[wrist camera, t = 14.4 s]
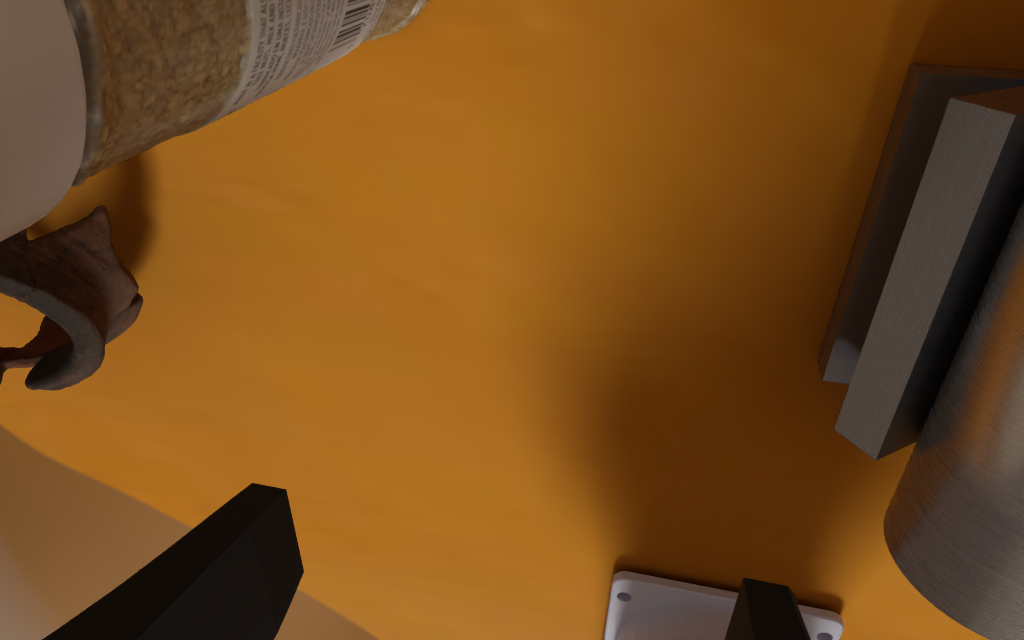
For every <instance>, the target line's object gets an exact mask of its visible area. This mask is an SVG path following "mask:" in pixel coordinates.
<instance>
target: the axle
mask: <svg viewBox="0 0 1024 640" xmlns="http://www.w3.org/2000/svg"><path fill="white" fill-rule="evenodd" d="M884 536H885V541H886V543H887V546H888V549H889V552H890V553H891V555H892V557H893V559H894V561H895V563H896V564H897V566H898V567H899V569H900V570H901V572H902V573H903V574H904V576H905V577H906V578H907V579H908V581H909V582H910V583H911V584H912V585H913V586H914V587H915V588H916V589H917V590H918V591H919V592H920V593H921V594H922V595H923V596H924V597H925V598H926V599H927V600H928V601H930V602H931V603H932V604H933V605H934V606H935V607H937V608H938V609H939V610H941V611H942V612H943V613H945V614H946V615H947V616H949V617H950V618H952V619H953V620H955V621H956V622H958V623H960V624H961V625H963V626H964V627H966V628H968V629H970V630H972V631H973V632H975V633H977V634H979V635H981V636H983V637H985V638H987V639H990V640H1024V199H1023V201H1022V204H1021V206H1020V208H1019V210H1018V213H1017V215H1016V217H1015V219H1014V222H1013V224H1012V226H1011V229H1010V231H1009V233H1008V235H1007V238H1006V240H1005V242H1004V244H1003V247H1002V249H1001V251H1000V254H999V256H998V258H997V260H996V263H995V265H994V267H993V269H992V272H991V274H990V276H989V279H988V281H987V283H986V285H985V288H984V290H983V292H982V294H981V297H980V299H979V301H978V304H977V306H976V308H975V310H974V313H973V315H972V317H971V320H970V322H969V324H968V326H967V329H966V331H965V333H964V335H963V338H962V340H961V342H960V345H959V347H958V349H957V351H956V354H955V356H954V358H953V360H952V363H951V365H950V367H949V370H948V372H947V374H946V376H945V379H944V381H943V383H942V385H941V388H940V390H939V392H938V395H937V397H936V399H935V401H934V404H933V406H932V408H931V410H930V413H929V415H928V417H927V420H926V422H925V424H924V426H923V429H922V431H921V433H920V436H919V438H918V440H917V442H916V445H915V447H914V449H913V451H912V454H911V456H910V458H909V461H908V463H907V465H906V467H905V470H904V472H903V474H902V476H901V479H900V481H899V483H898V486H897V488H896V490H895V492H894V495H893V497H892V499H891V501H890V504H889V506H888V508H887V511H886V513H885V517H884Z"/></svg>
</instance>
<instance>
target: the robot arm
mask: <svg viewBox="0 0 1024 640" xmlns="http://www.w3.org/2000/svg"><path fill="white" fill-rule="evenodd" d="M303 573H304V570H303V565H302V560H301V556H300V551H299V546H298V542H297V537H296V533H295V528H294V523H293V519H292V514H291V509H290V505H289V500H288V496H287V491H286V489H281V488H276V487H270V486H265V485H260V484H255V483H252V484H250V485H249V486H248V487H246V488H245V489H244V490H242V491H241V492H240V493H239V494H237V495H236V496H235V497H233V498H232V499H231V500H229V501H228V502H227V503H226V504H224V505H223V506H222V507H220V508H219V509H218V510H217V511H215V512H214V513H213V514H212V515H210V516H209V517H208V518H206V519H205V520H204V521H203V522H201V523H200V524H199V525H198V526H196V527H195V528H194V529H192V530H191V531H190V532H189V533H187V534H186V535H185V536H184V537H182V538H181V539H180V540H178V541H177V542H176V543H175V544H173V545H172V546H171V547H170V548H168V549H167V550H166V551H164V552H163V553H162V554H160V555H159V556H158V557H156V558H155V559H154V560H152V561H151V562H150V563H148V564H147V565H146V566H144V567H143V568H142V569H140V570H139V571H138V572H137V573H135V574H134V575H133V576H131V577H130V578H129V579H127V580H126V581H125V582H123V583H122V584H121V585H119V586H118V587H117V588H115V589H114V590H112V591H111V592H110V593H109V594H107V595H105V596H104V597H103V598H101V599H100V600H98V601H97V602H95V603H94V604H93V605H91V606H90V607H88V608H87V609H86V610H84V611H83V612H81V613H80V614H78V615H77V616H76V617H74V618H73V619H71V620H70V621H69V622H67V623H66V624H65V625H63V626H61V627H60V628H59V629H57V630H56V631H54V632H53V633H51V634H50V635H48V636H47V637H45V638H44V639H42V640H274V638H275V636H276V634H277V633H278V631H279V629H280V626H281V624H282V622H283V620H284V617H285V615H286V613H287V611H288V608H289V606H290V604H291V602H292V599H293V596H294V594H295V592H296V590H297V587H298V585H299V582H300V580H301V577H302V575H303ZM624 592H625V593H624ZM843 630H844V626H843V621H842V618H841V616H840V615H838V614H837V613H835V612H832V611H829V610H824V609H818V608H813V607H808V606H803V605H798V604H797V602H796V599H795V596H794V593H793V592H792V591H791V590H790V588H789V587H788V586H784V585H779V584H774V583H768V582H763V581H758V580H753V579H748V578H743V581H742V584H741V587H740V591H739V593H736V592H731V591H726V590H721V589H716V588H711V587H706V586H700V585H695V584H690V583H685V582H680V581H675V580H670V579H664V578H659V577H654V576H649V575H644V574H639V573H634V572H628V571H621V572H617V573H616V574H614V576H613V580H612V587H611V593H610V600H609V607H608V614H607V620H606V627H605V634H604V640H839V639H840V637H841V635H842V633H843Z"/></svg>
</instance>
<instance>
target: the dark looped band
mask: <svg viewBox="0 0 1024 640" xmlns="http://www.w3.org/2000/svg"><path fill="white" fill-rule="evenodd" d="M111 233H112V232H111V225H110V220H109V217H108V213H107V210H106V208H105V207H104V206H98V207H96V208H95V209H94V211H93V212H92V213H90V214H89V215H88V216H87V217H84V218H83V219H81V220H80V221H78V222H76V223H74V224H71V225H68V226H65V227H63V228H61V229H58V230H56V231H54V232H51V233H48V234H47V235H45V236H42V237H39V238H37V239H34V240H31V241H30V240H28V239H27V235H26V229H24V230H22V231H20V232H18V233H16V234H14V235H12V236H10V237H8V238H7V239H5V240H3V241H1V242H0V293H3V294H5V295H7V296H10V297H13V298H16V299H17V300H18V301H21V302H24V303H26V304H28V305H29V306H31V307H33V308H35V309H37V310H39V311H40V312H41V313H43V314H45V315H46V316H45V317H44V318H43V321H42V323H41V326H40V331H39V332H38V334H37V336H36V337H34V339H33V340H31V341H30V342H29V343H27V344H26V345H25V346H24V347H22V348H15V347H8V348H2V347H0V384H1V382H2V377H3V373H4V372H5V371H6V370H7V369H9V368H28V367H33V368H32V370H31V371H30V372H29V374H28V376H27V378H26V380H25V385H26V387H27V388H29V389H31V390H37V389H43V390H60V389H63V388H66V387H70V386H72V385H75V384H77V383H79V382H80V381H82V380H84V379H86V378H88V377H89V376H91V375H92V374H93V373H94V372H95V371H97V369H98V368H99V367H100V366H101V364H102V361H103V359H104V356H105V345H106V344H107V343H109V342H110V341H112V340H113V339H115V338H116V337H118V336H119V335H121V334H122V333H124V332H125V331H126V330H127V329H128V328H129V327H130V326H131V325H132V324H133V323H134V322H135V320H136V319H137V317H138V315H139V312H140V309H141V307H142V304H143V298H142V296H141V295H140V294H139V293H137V292H138V288H139V287H138V284H137V282H136V281H135V279H134V277H133V275H132V274H131V272H130V271H129V270H128V269H127V268H125V266H124V265H123V263H122V262H121V261H120V259H119V258H118V257H117V255H116V254H115V251H114V248H113V245H112V241H111Z"/></svg>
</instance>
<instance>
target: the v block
mask: <svg viewBox="0 0 1024 640" xmlns="http://www.w3.org/2000/svg"><path fill="white" fill-rule="evenodd" d="M1023 199H1024V71H1021V70H1005V69H989V68H972V67H956V66H940V65H924V64H910V67H909V71H908V74H907V77H906V80H905V83H904V87H903V90H902V93H901V96H900V99H899V103H898V106H897V109H896V112H895V115H894V119H893V122H892V125H891V128H890V131H889V135H888V138H887V141H886V144H885V147H884V151H883V154H882V157H881V160H880V163H879V167H878V170H877V173H876V176H875V179H874V183H873V186H872V189H871V192H870V195H869V199H868V202H867V205H866V208H865V211H864V215H863V218H862V221H861V224H860V227H859V231H858V234H857V237H856V240H855V243H854V247H853V250H852V253H851V256H850V259H849V263H848V266H847V269H846V272H845V275H844V279H843V282H842V285H841V288H840V291H839V295H838V298H837V301H836V304H835V308H834V311H833V314H832V317H831V320H830V324H829V327H828V330H827V333H826V336H825V340H824V343H823V346H822V349H821V352H820V356H819V359H818V365H819V369H820V373H821V377H822V381H829V382H836V383H843V384H850V385H849V388H848V391H847V394H846V397H845V400H844V403H843V405H842V408H841V411H840V414H839V417H838V420H837V422H836V425H835V428H834V430H836V431H837V432H838V433H840V434H841V435H842V436H844V437H845V438H846V439H848V440H849V441H850V442H852V443H853V444H854V445H856V446H857V447H858V448H860V449H861V450H862V451H864V452H865V453H866V454H868V455H869V456H870V457H872V458H873V459H874V460H878V459H880V458H882V457H884V456H886V455H889V454H891V453H893V452H895V451H897V450H900V449H902V448H904V447H906V446H908V445H910V444H913V443H915V442H917V440H918V438H919V436H920V433H921V431H922V429H923V426H924V424H925V422H926V420H927V417H928V415H929V413H930V410H931V408H932V406H933V404H934V401H935V399H936V397H937V395H938V392H939V390H940V388H941V385H942V383H943V381H944V379H945V376H946V374H947V372H948V370H949V367H950V365H951V363H952V360H953V358H954V356H955V354H956V351H957V349H958V347H959V345H960V342H961V340H962V338H963V335H964V333H965V331H966V329H967V326H968V324H969V322H970V320H971V317H972V315H973V313H974V310H975V308H976V306H977V304H978V301H979V299H980V297H981V294H982V292H983V290H984V288H985V285H986V283H987V281H988V279H989V276H990V274H991V272H992V269H993V267H994V265H995V263H996V260H997V258H998V256H999V254H1000V251H1001V249H1002V247H1003V244H1004V242H1005V240H1006V238H1007V235H1008V233H1009V231H1010V229H1011V226H1012V224H1013V222H1014V219H1015V217H1016V215H1017V213H1018V210H1019V208H1020V206H1021V204H1022V201H1023Z"/></svg>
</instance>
